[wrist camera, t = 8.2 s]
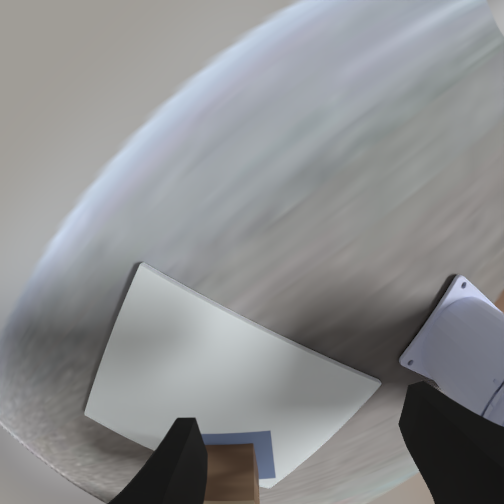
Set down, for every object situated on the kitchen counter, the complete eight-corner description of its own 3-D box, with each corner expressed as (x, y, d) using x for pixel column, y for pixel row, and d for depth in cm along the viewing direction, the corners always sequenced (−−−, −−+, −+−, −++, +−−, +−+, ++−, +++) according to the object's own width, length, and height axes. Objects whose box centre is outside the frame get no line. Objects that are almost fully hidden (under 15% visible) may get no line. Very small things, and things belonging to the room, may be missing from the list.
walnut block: (253, 443, 21) (254, 501, 15) (258, 471, 22) (260, 523, 17) (198, 444, 21) (189, 501, 16) (208, 473, 22) (203, 523, 17)
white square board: (379, 379, 21) (381, 384, 20) (257, 492, 24) (257, 497, 24) (143, 261, 18) (139, 264, 18) (82, 422, 22) (80, 426, 21)
